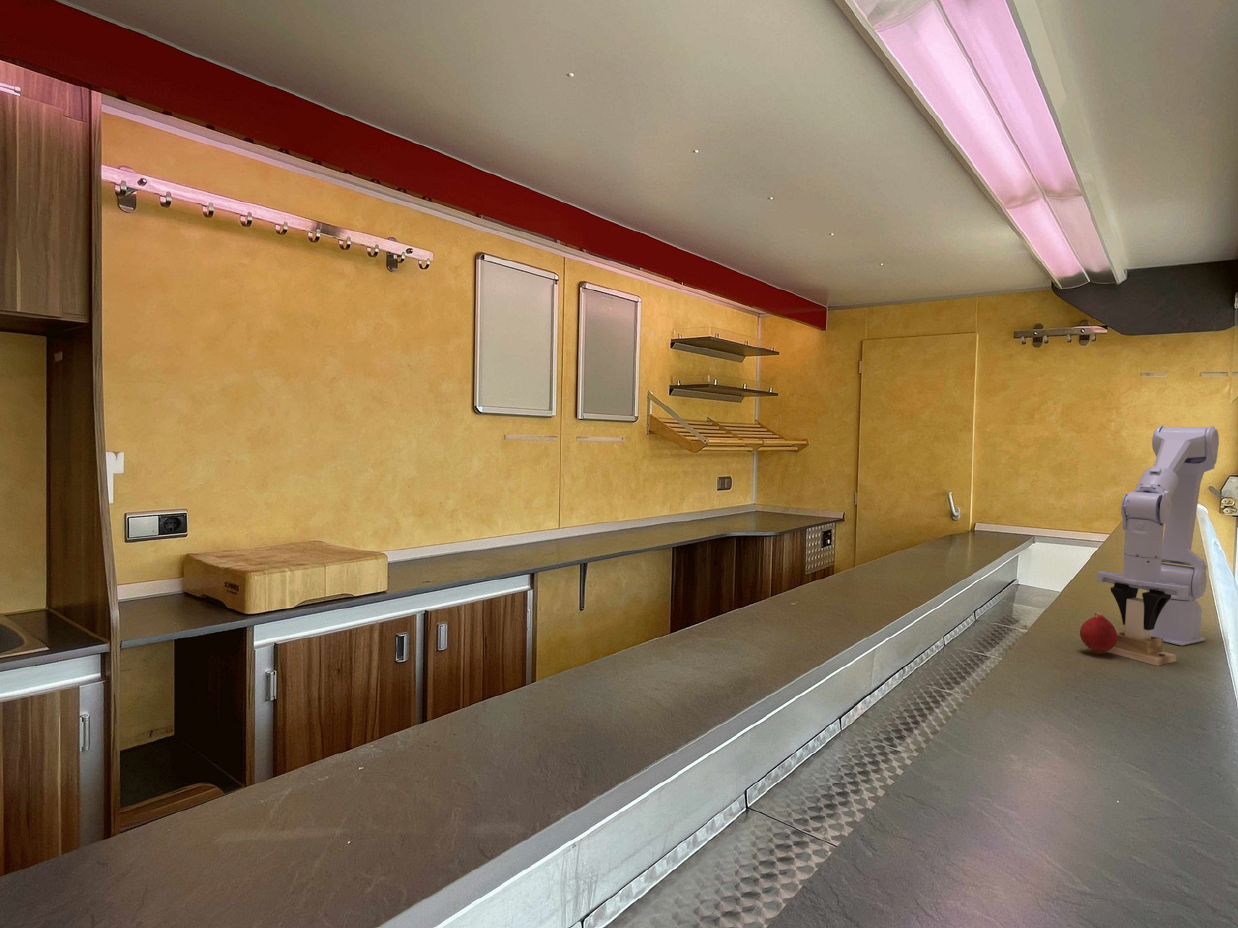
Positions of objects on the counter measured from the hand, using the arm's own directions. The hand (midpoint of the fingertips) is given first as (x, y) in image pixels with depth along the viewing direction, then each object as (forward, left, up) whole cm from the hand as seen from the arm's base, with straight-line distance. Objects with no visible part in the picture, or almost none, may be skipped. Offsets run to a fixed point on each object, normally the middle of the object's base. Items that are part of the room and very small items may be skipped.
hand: (1138, 626), depth 132 cm
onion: (+6, -4, -6) cm, 9 cm away
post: (0, 0, -3) cm, 3 cm away
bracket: (0, 0, -6) cm, 6 cm away
